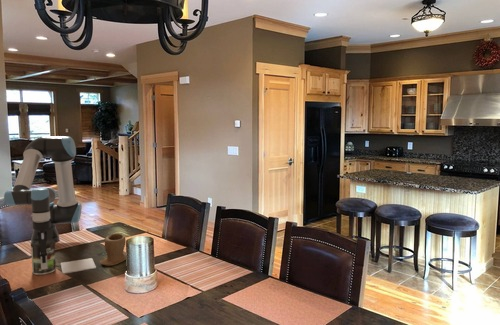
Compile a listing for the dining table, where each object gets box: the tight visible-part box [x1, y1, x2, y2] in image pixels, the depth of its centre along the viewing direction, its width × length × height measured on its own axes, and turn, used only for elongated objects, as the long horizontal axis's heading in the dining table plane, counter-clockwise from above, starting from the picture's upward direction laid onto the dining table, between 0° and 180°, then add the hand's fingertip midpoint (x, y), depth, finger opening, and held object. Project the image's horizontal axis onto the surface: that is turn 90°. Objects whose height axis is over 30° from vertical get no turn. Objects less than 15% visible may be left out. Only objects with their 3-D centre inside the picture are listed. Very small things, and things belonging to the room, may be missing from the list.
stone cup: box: [99, 232, 127, 267], centre depth 202 cm, size 15×12×15 cm
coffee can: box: [30, 240, 57, 276], centre depth 190 cm, size 10×10×14 cm
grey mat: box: [60, 257, 97, 275], centre depth 197 cm, size 15×15×1 cm
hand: (44, 265), depth 191 cm, fingers closed on coffee can, 10 cm apart
